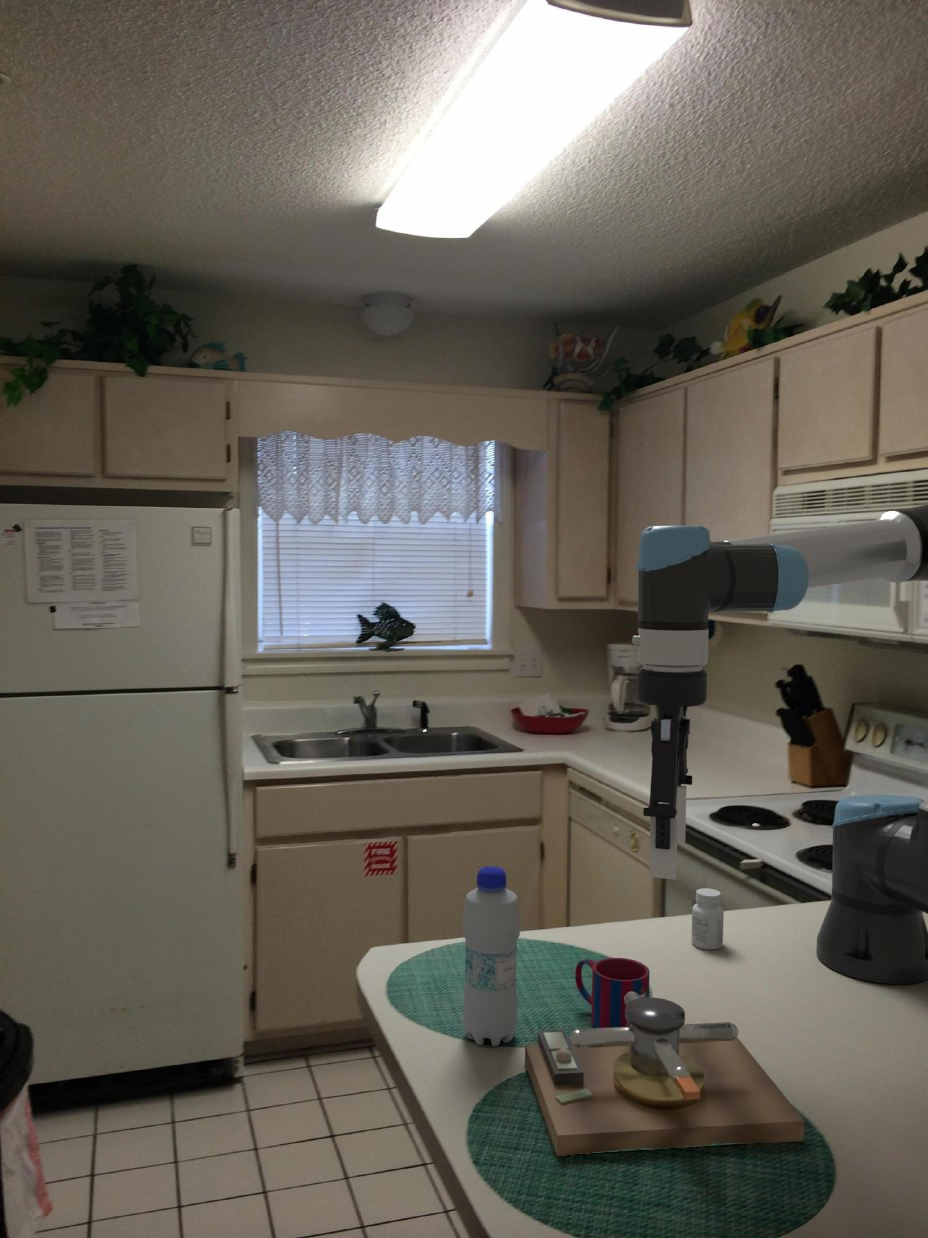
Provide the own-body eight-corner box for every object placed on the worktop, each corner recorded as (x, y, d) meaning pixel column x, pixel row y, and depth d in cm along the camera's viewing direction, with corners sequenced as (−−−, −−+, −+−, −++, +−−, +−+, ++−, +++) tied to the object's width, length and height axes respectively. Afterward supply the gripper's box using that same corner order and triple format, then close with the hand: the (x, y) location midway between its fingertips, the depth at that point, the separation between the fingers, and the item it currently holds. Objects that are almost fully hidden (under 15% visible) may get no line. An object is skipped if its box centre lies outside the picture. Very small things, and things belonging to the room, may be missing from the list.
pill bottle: (715, 938, 144) (717, 886, 143) (727, 950, 139) (729, 896, 139) (686, 939, 143) (688, 887, 143) (698, 951, 139) (699, 898, 138)
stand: (732, 1049, 111) (734, 1011, 111) (803, 1141, 94) (805, 1096, 94) (524, 1060, 108) (524, 1021, 108) (557, 1156, 91) (557, 1110, 91)
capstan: (705, 1029, 111) (707, 970, 111) (784, 1134, 91) (786, 1063, 90) (551, 1036, 109) (552, 977, 109) (596, 1146, 89) (598, 1073, 88)
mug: (620, 1044, 112) (621, 986, 112) (560, 1011, 120) (561, 957, 120) (660, 1028, 116) (661, 971, 116) (600, 997, 124) (601, 944, 124)
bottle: (500, 1057, 109) (503, 880, 108) (449, 1041, 112) (451, 870, 111) (529, 1033, 115) (531, 864, 113) (480, 1018, 118) (482, 855, 117)
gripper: (648, 654, 120) (646, 825, 122) (622, 679, 96) (619, 891, 98) (712, 657, 118) (708, 830, 119) (700, 682, 94) (696, 899, 96)
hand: (668, 858), depth 109 cm, fingers open, 13 cm apart
